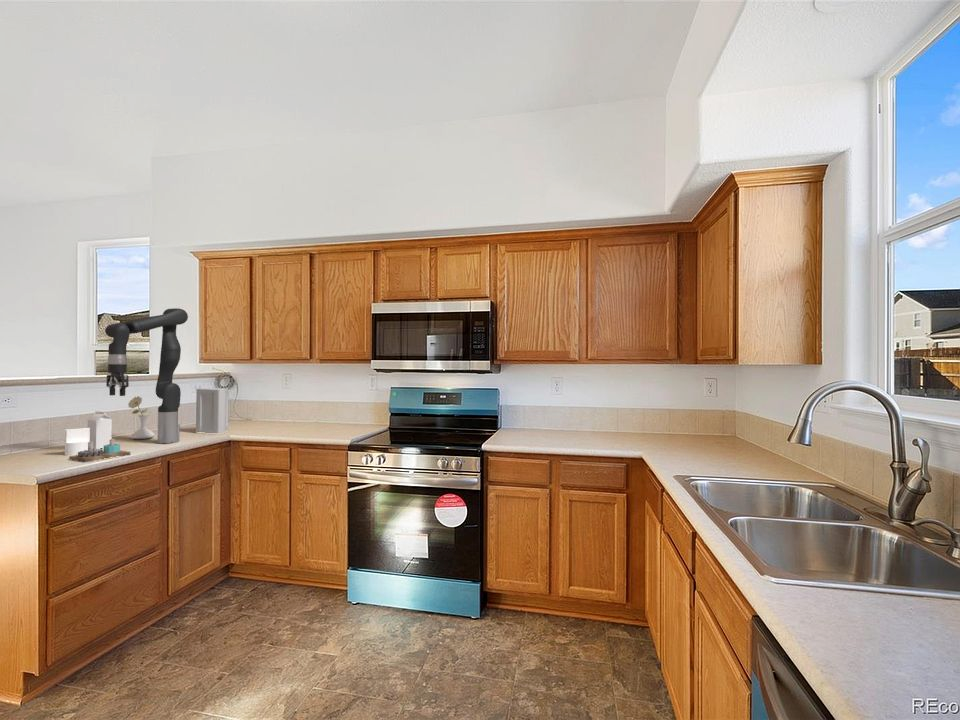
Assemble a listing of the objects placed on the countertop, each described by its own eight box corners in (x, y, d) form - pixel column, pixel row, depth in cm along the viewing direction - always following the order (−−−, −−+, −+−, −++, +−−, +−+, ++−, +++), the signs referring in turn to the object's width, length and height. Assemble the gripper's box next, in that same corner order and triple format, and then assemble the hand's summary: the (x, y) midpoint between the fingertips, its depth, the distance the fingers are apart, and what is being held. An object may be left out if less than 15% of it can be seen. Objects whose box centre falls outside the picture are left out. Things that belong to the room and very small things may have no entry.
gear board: (114, 452, 221) (114, 436, 221) (130, 454, 216) (130, 438, 216) (69, 459, 205) (69, 442, 205) (85, 462, 199) (85, 444, 199)
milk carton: (95, 450, 227) (96, 412, 227) (86, 449, 230) (87, 412, 230) (111, 447, 234) (112, 411, 234) (102, 446, 236) (103, 410, 237)
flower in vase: (149, 436, 270) (149, 395, 271) (158, 438, 265) (159, 395, 265) (123, 439, 259) (124, 396, 259) (133, 441, 253) (133, 397, 254)
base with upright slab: (87, 451, 225) (87, 427, 225) (91, 453, 219) (91, 428, 219) (63, 453, 218) (63, 429, 218) (66, 456, 212) (66, 430, 212)
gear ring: (115, 450, 218) (115, 443, 218) (122, 451, 216) (122, 444, 216) (100, 452, 213) (100, 445, 213) (108, 453, 210) (108, 446, 210)
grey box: (238, 431, 293) (238, 388, 293) (218, 434, 279) (219, 389, 279) (215, 430, 299) (216, 387, 299) (195, 433, 284) (195, 389, 285)
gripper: (134, 363, 226) (134, 395, 226) (117, 363, 232) (117, 394, 232) (117, 363, 220) (117, 396, 220) (100, 363, 225) (100, 395, 225)
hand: (117, 395), depth 226 cm, fingers open, 8 cm apart
